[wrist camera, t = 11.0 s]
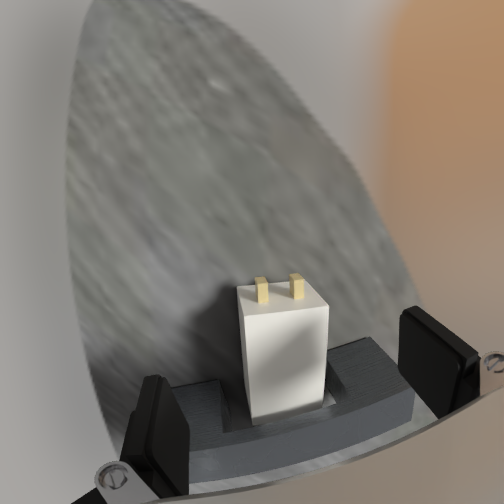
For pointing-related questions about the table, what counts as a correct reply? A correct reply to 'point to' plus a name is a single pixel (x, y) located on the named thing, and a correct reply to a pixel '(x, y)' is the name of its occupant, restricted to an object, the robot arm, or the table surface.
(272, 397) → the plug
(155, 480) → the robot arm
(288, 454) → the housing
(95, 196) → the table surface
